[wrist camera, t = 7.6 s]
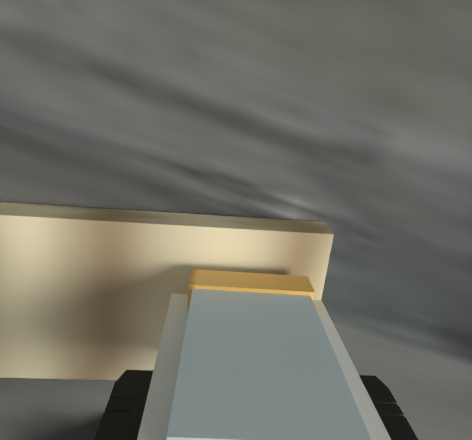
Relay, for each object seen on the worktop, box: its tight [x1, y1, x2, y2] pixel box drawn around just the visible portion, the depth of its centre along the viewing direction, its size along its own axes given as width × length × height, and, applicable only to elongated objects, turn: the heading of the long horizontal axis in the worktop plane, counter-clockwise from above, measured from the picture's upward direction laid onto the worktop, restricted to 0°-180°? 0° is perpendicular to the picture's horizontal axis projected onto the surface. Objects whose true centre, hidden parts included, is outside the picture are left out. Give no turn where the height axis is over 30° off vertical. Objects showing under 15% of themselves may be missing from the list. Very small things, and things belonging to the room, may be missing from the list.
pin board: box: [0, 202, 334, 380], centre depth 13 cm, size 20×8×6 cm, turn 85°
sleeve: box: [167, 269, 371, 440], centre depth 11 cm, size 5×5×7 cm
